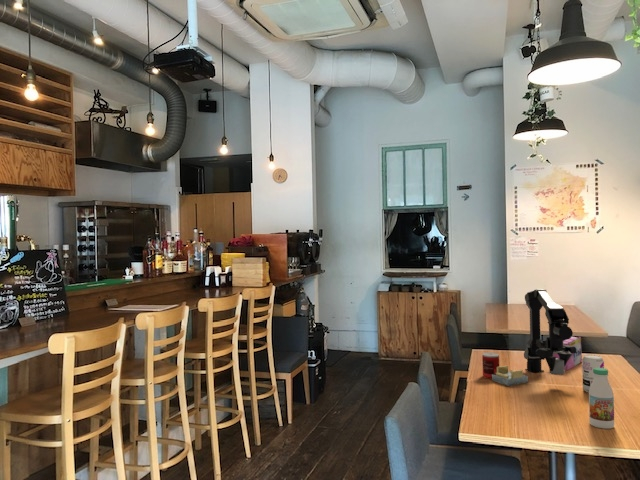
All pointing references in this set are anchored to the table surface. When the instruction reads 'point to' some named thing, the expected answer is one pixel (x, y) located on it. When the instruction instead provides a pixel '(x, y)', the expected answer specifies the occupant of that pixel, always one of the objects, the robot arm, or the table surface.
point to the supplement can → (590, 369)
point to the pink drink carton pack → (575, 357)
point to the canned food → (490, 364)
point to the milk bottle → (601, 400)
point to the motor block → (509, 376)
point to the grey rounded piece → (558, 367)
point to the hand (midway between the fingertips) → (556, 370)
